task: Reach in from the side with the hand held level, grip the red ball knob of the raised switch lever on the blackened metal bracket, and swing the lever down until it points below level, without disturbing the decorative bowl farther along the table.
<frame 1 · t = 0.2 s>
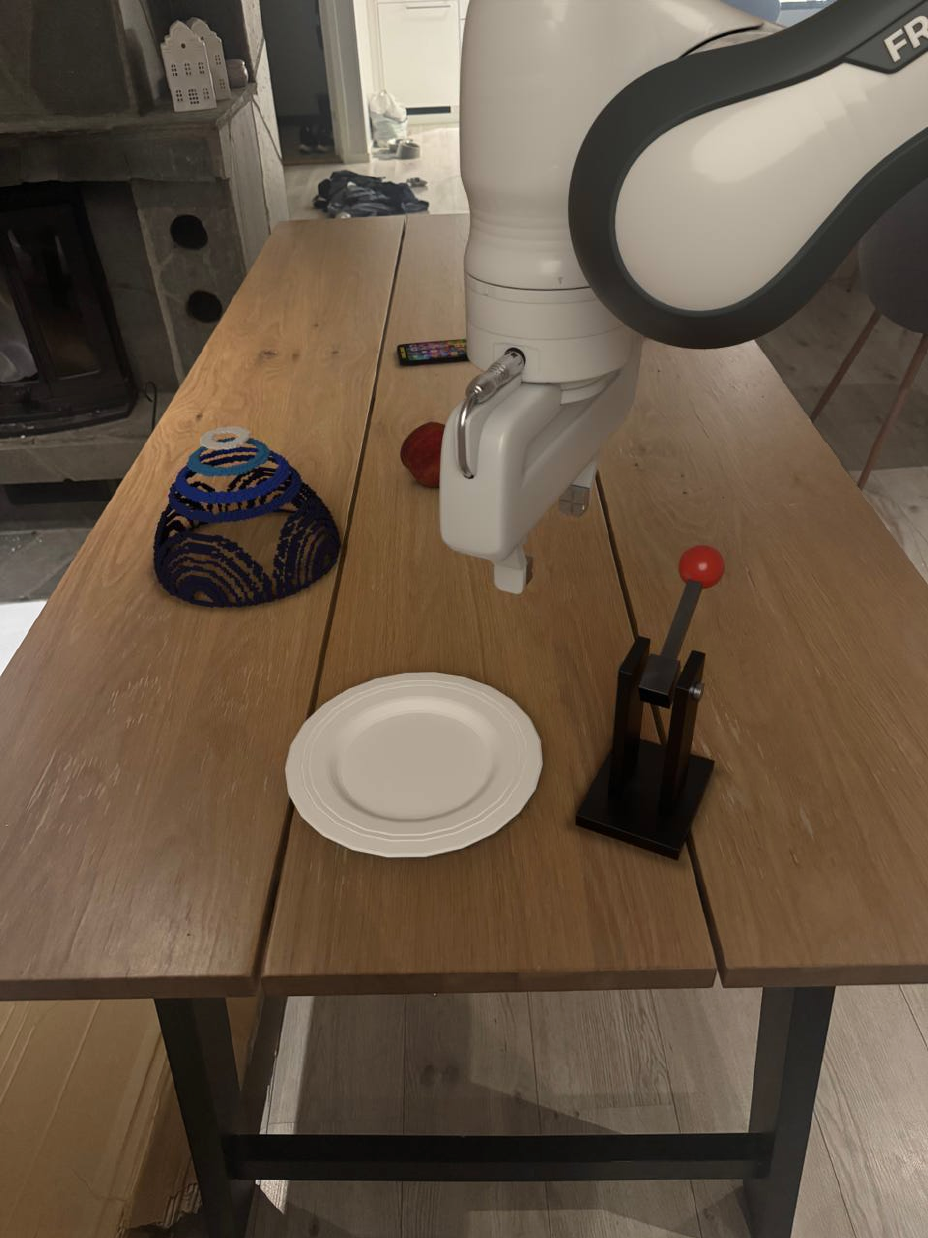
hand: (545, 546, 57), 25 cm above the table, tool pointing down, fingers open, 8 cm apart
decorative bowl: (250, 556, 104), on the table
plate: (415, 771, 76), on the table
lever: (681, 620, 68), point 14 cm above the table, hinge at 25.0°
tray: (598, 316, 163), on the table
apple: (433, 484, 116), on the table
switch bracket: (646, 797, 73), on the table
smartphone: (444, 355, 150), on the table
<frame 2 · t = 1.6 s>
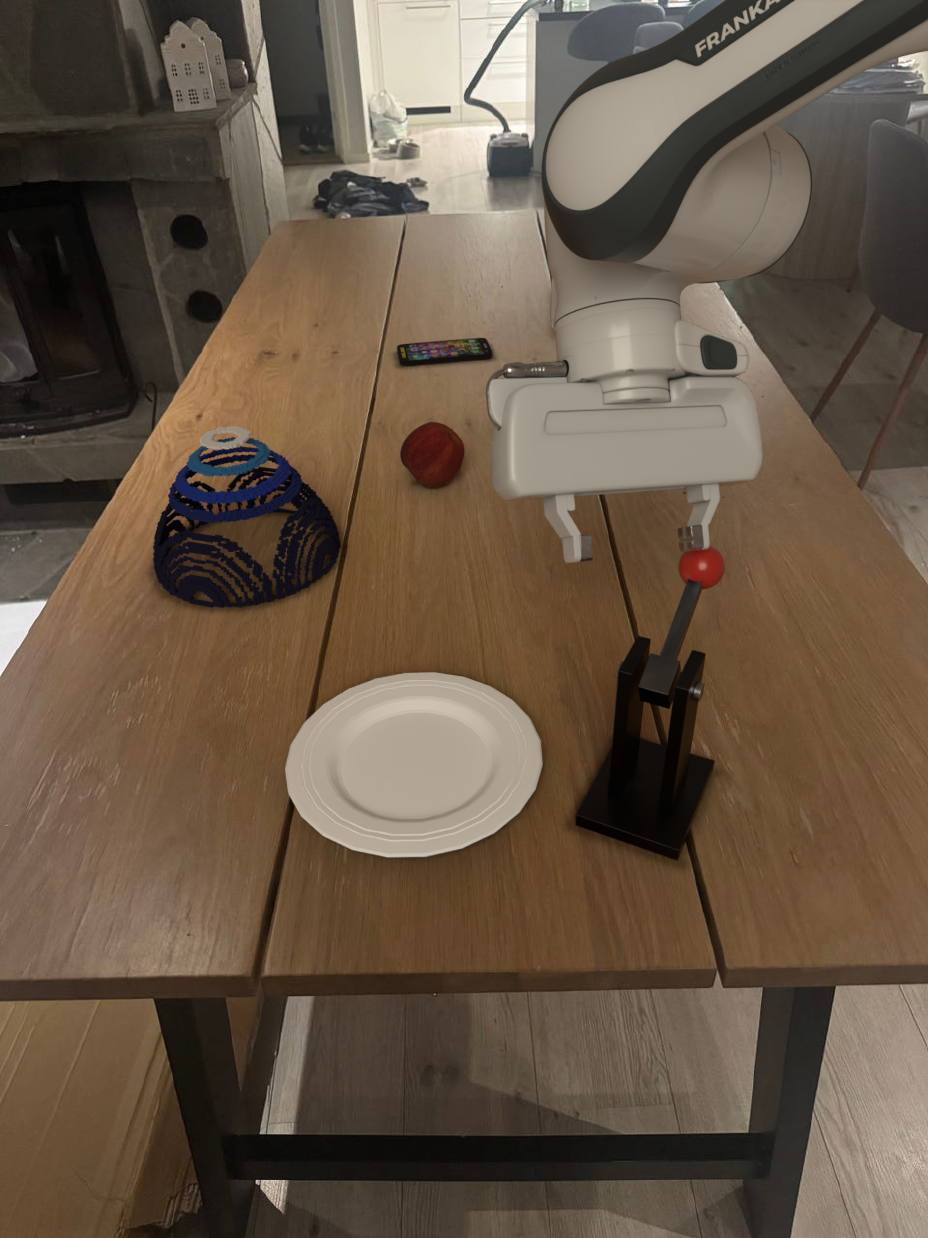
hand: (638, 556, 66), 19 cm above the table, tool tilted 35°, fingers open, 8 cm apart
lever: (681, 620, 68), point 14 cm above the table, hinge at 24.9°, touching gripper
everything else where it was.
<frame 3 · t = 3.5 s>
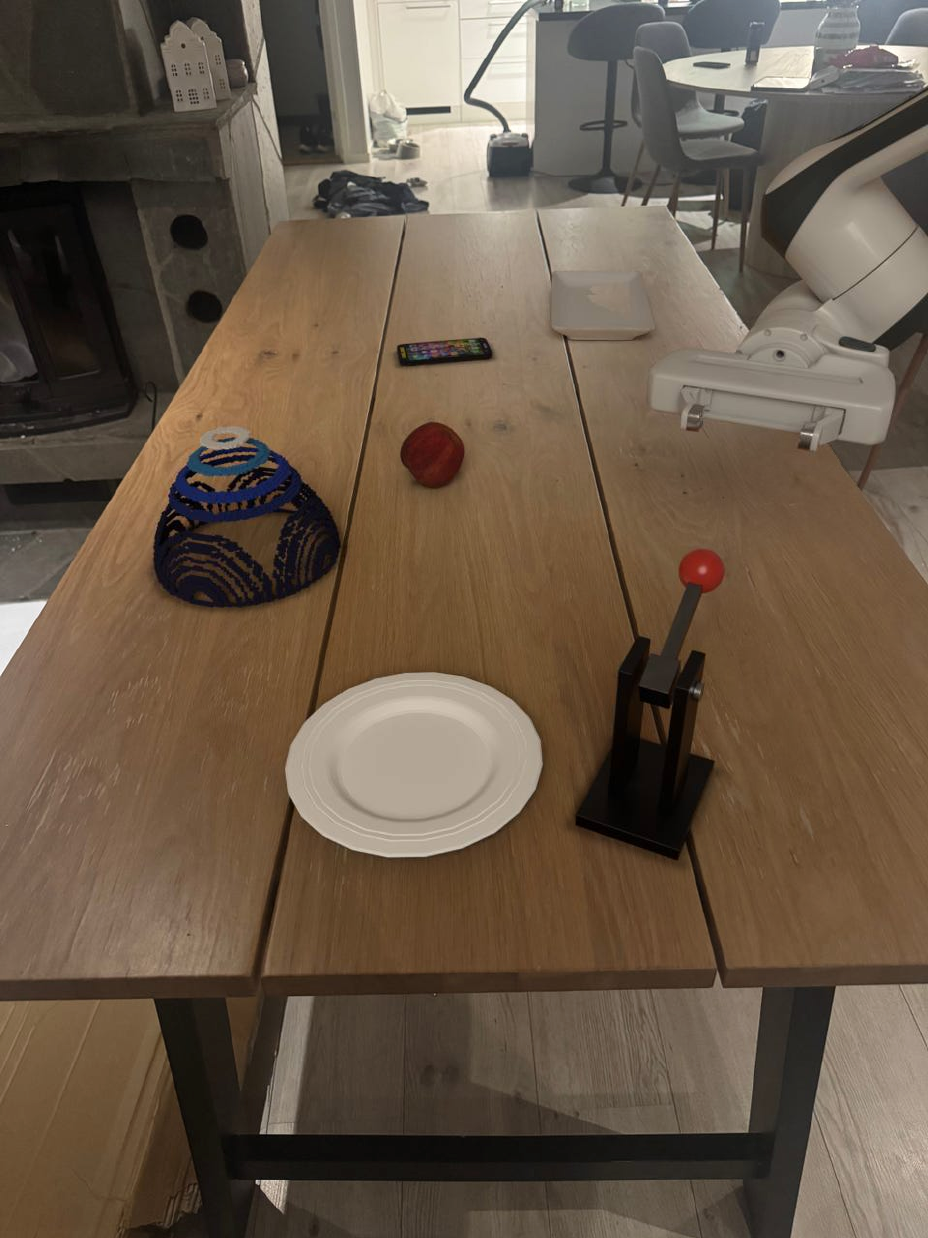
hand: (747, 432, 74), 22 cm above the table, tool horizontal, fingers open, 8 cm apart
lever: (681, 622, 68), point 14 cm above the table, hinge at 21.8°
everything else where it was.
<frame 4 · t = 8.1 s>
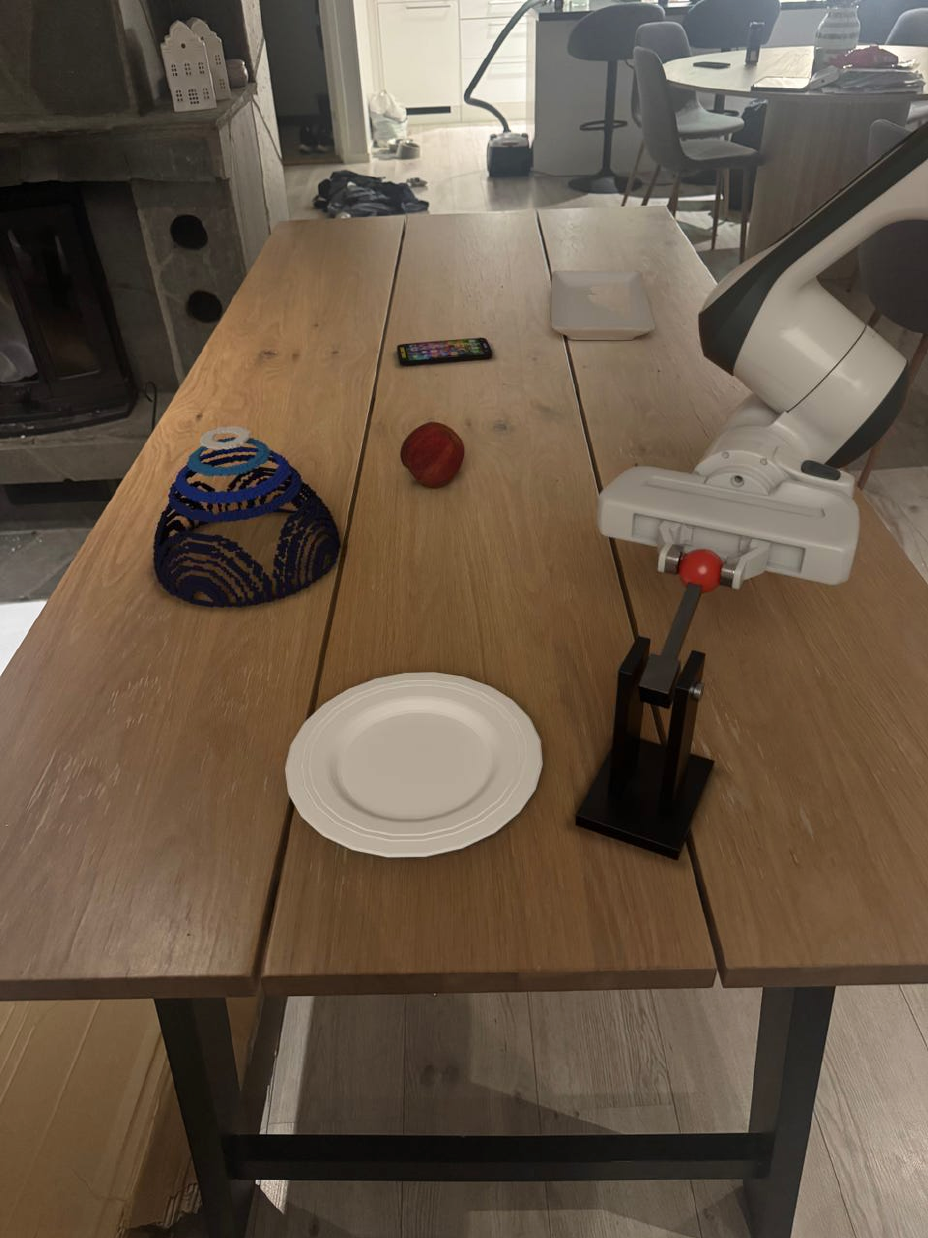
hand: (698, 573, 69), 16 cm above the table, tool horizontal, fingers closed on lever, 3 cm apart
lever: (681, 622, 68), point 14 cm above the table, hinge at 21.8°, touching gripper
everything else where it was.
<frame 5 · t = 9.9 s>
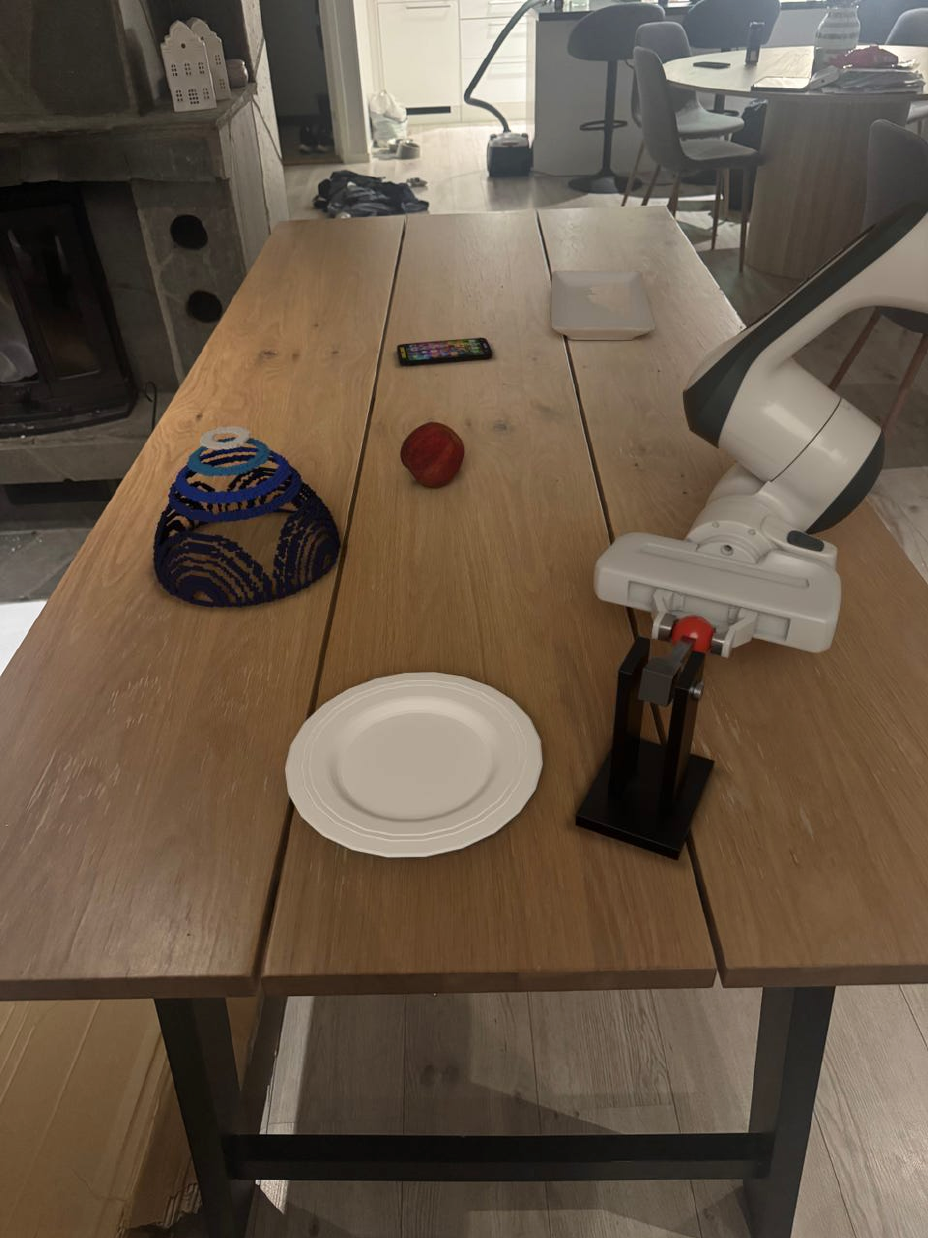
hand: (690, 641, 73), 9 cm above the table, tool horizontal, fingers closed on lever, 3 cm apart
lever: (677, 656, 70), point 11 cm above the table, hinge at -16.0°, touching gripper
everything else where it was.
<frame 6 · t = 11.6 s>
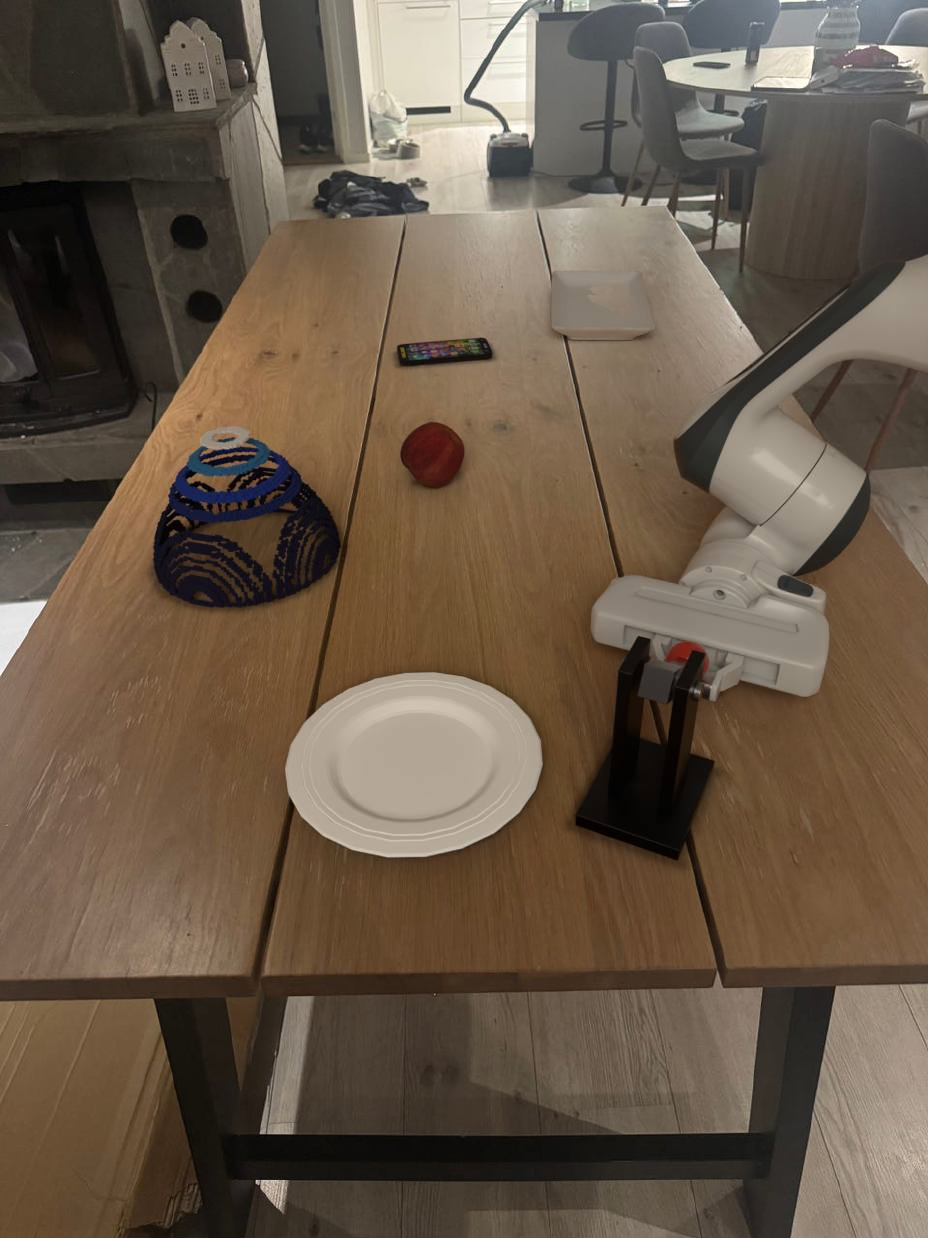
hand: (682, 687, 76), 5 cm above the table, tool horizontal, fingers open, 3 cm apart
lever: (674, 670, 70), point 10 cm above the table, hinge at -28.5°
everything else where it was.
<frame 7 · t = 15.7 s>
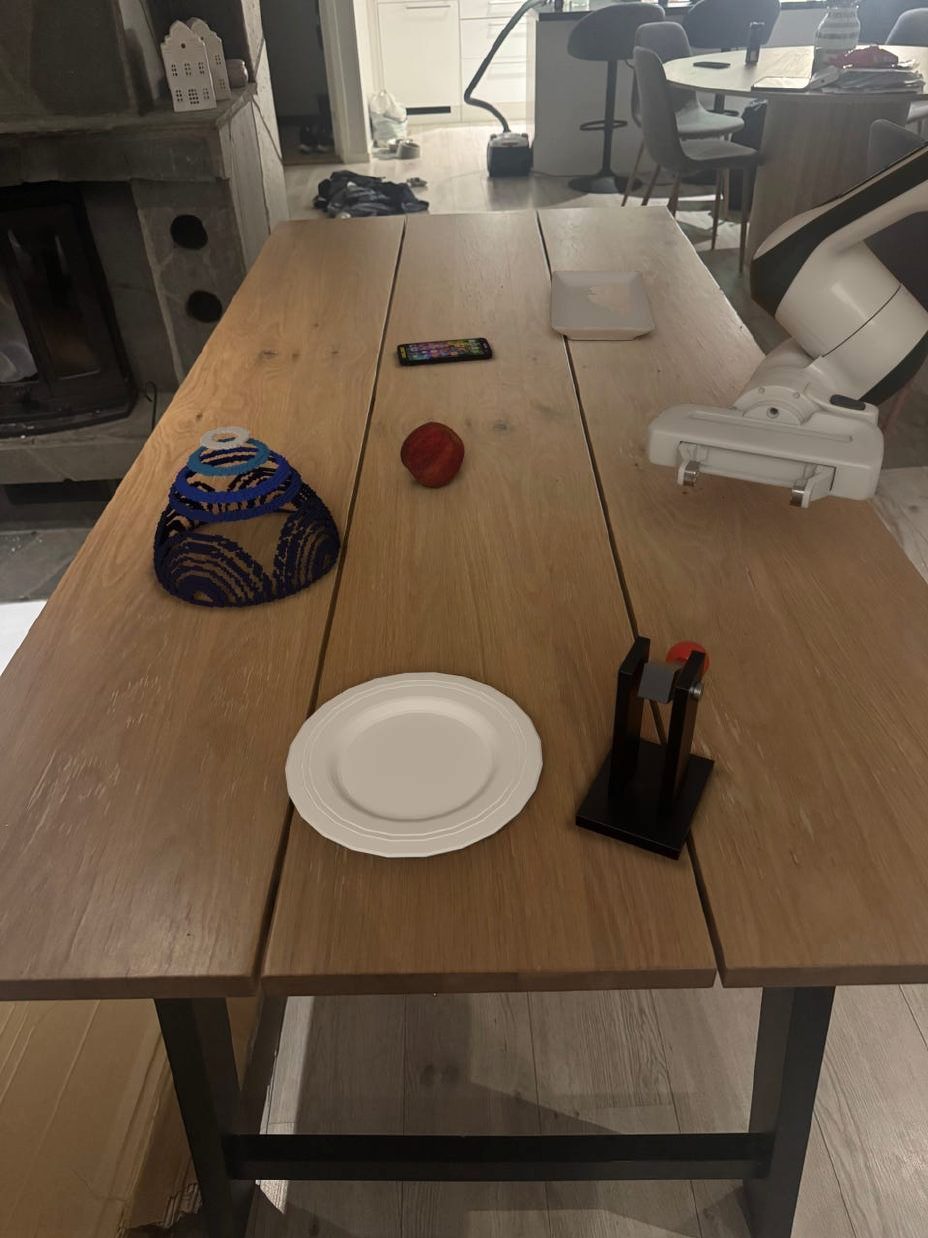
hand: (741, 488, 78), 17 cm above the table, tool horizontal, fingers open, 8 cm apart
nothing on the table moved.
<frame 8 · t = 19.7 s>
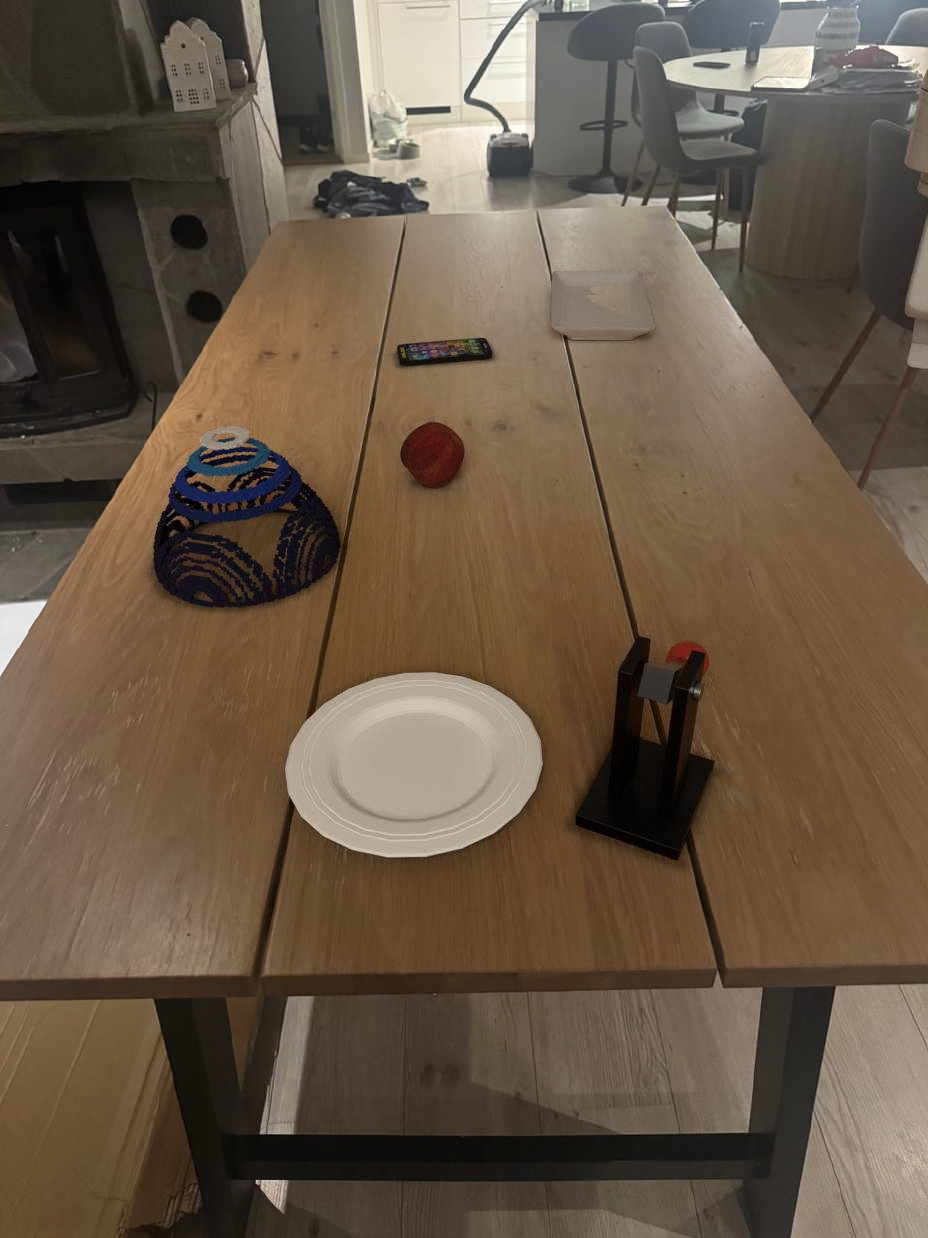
hand: (926, 342, 70), 29 cm above the table, tool pointing down, fingers open, 8 cm apart
nothing on the table moved.
at the end: lever at -28° (first picture: +25°); lever reached -31° during the clip, -28° at the end; decorative bowl moved 0.2 cm from its start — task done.
